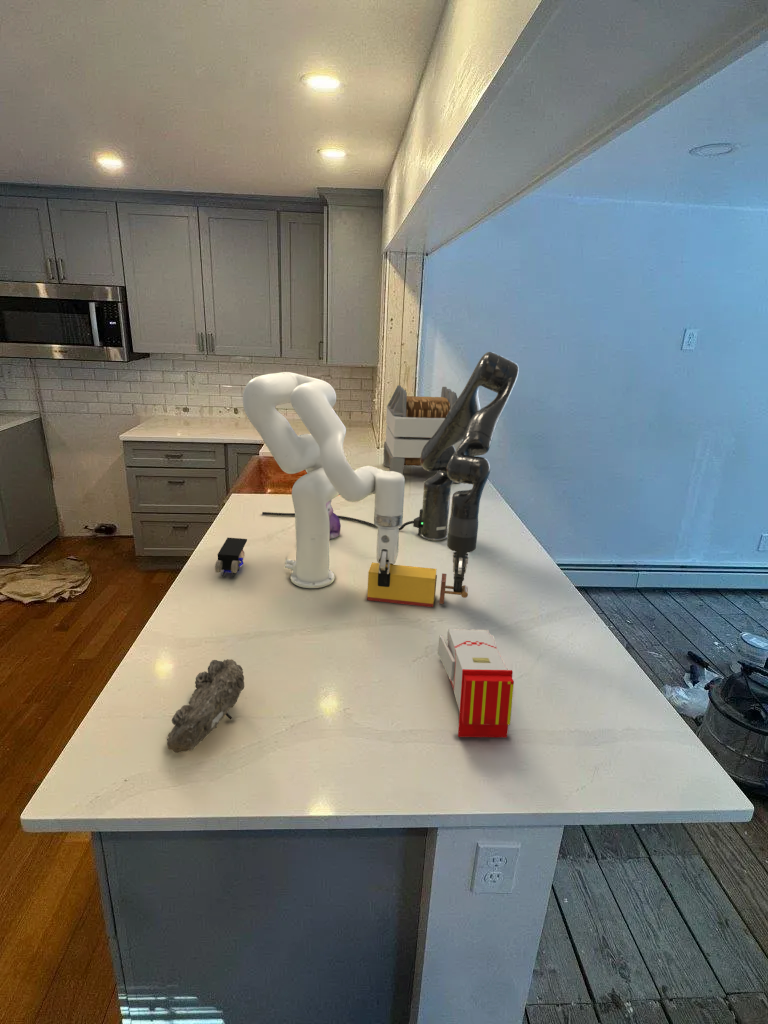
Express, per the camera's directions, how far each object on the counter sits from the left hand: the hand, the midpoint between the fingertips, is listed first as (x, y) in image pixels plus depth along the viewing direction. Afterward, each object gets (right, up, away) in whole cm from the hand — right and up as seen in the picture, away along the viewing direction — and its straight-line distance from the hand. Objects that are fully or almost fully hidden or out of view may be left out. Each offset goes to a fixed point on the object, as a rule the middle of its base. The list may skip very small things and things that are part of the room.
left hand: (385, 579), depth 154 cm
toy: (+18, -19, -36) cm, 44 cm away
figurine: (-20, +10, +41) cm, 47 cm away
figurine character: (-45, +1, +13) cm, 47 cm away
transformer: (+17, +37, +121) cm, 127 cm away
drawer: (+11, -5, 0) cm, 12 cm away
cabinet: (+4, -5, +1) cm, 7 cm away
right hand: (+19, -3, -2) cm, 20 cm away
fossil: (-33, -21, -46) cm, 61 cm away
